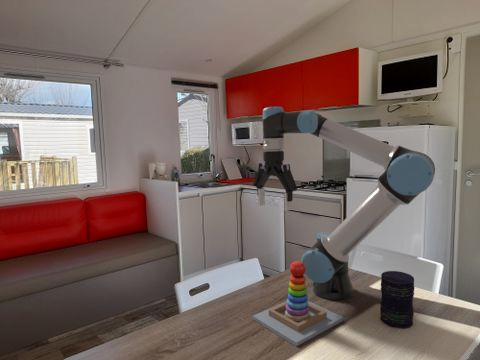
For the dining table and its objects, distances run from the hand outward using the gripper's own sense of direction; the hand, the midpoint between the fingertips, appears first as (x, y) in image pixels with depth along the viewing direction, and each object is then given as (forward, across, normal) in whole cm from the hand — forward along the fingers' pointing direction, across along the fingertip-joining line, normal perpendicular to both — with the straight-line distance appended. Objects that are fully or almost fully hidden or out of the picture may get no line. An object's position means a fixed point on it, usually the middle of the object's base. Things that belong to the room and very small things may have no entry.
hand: (274, 207), depth 130 cm
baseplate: (+34, +18, -8) cm, 39 cm away
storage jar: (+34, +40, +15) cm, 55 cm away
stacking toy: (+33, +18, -8) cm, 38 cm away
